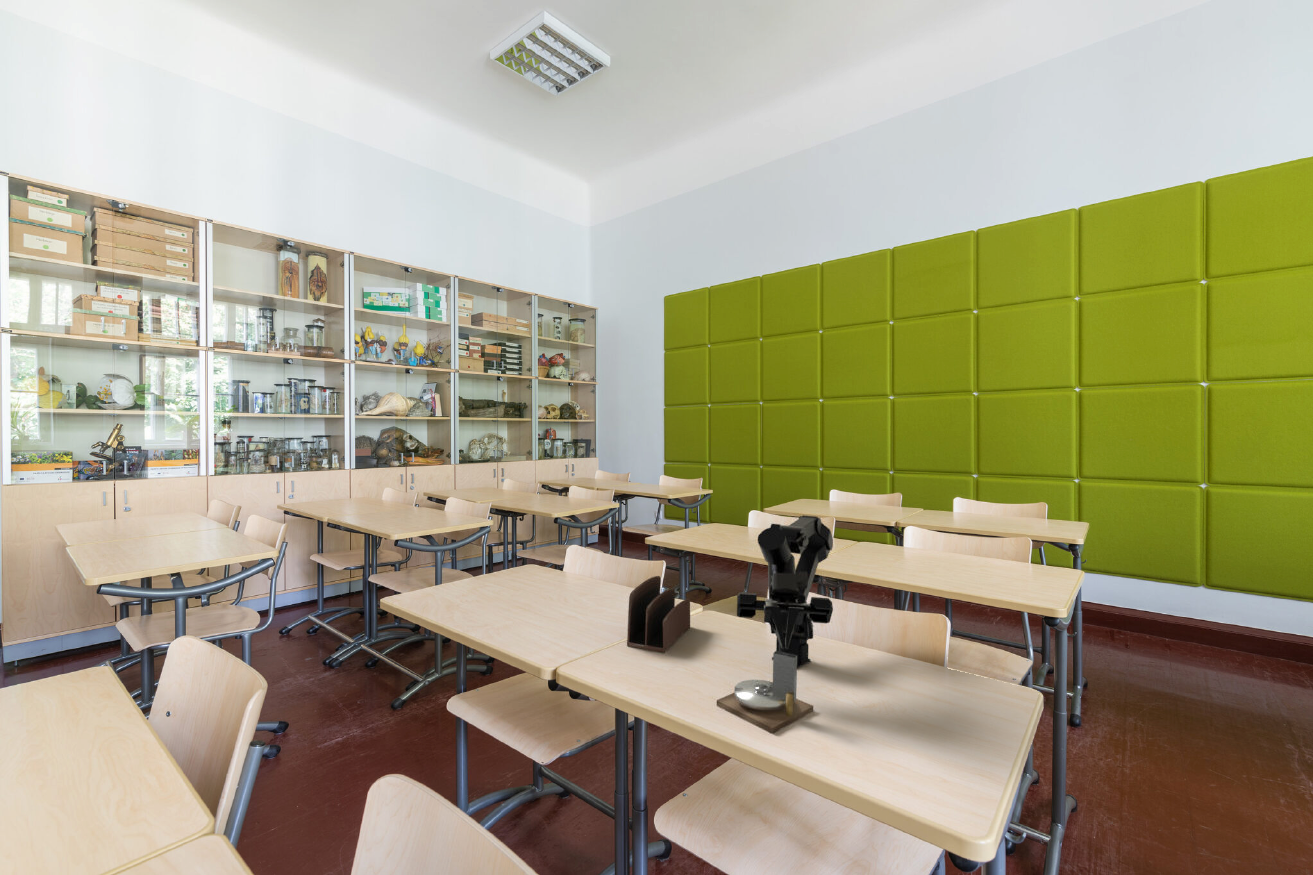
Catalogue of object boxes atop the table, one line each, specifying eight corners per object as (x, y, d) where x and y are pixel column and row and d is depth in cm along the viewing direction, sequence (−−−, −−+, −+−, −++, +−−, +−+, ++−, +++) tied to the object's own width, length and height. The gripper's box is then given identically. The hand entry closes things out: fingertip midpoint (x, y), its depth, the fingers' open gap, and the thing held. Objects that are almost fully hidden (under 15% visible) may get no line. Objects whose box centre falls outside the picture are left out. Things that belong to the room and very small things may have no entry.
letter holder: (626, 647, 133) (627, 589, 133) (656, 622, 152) (657, 571, 152) (664, 653, 130) (665, 594, 130) (690, 627, 148) (692, 575, 148)
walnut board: (716, 705, 104) (717, 681, 104) (757, 686, 113) (758, 664, 113) (772, 733, 95) (772, 707, 95) (813, 711, 103) (813, 686, 103)
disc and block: (725, 700, 102) (727, 651, 102) (746, 681, 111) (747, 635, 111) (786, 718, 96) (787, 665, 96) (802, 696, 105) (803, 647, 105)
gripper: (738, 553, 112) (736, 624, 101) (832, 558, 110) (841, 632, 99) (737, 582, 120) (735, 651, 109) (825, 587, 117) (833, 659, 106)
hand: (785, 647), depth 106 cm, fingers closed
